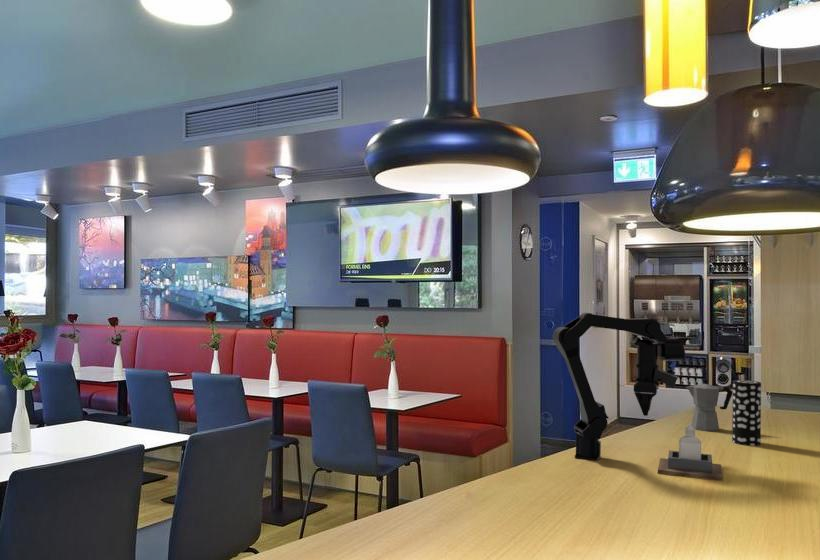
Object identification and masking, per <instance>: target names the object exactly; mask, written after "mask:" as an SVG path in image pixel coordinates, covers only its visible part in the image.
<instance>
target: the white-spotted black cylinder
mask: <svg viewBox="0 0 820 560" xmlns="http://www.w3.org/2000/svg"><path fill="white" fill-rule="evenodd" d="M761 404H762V382H760V381H756V380H748V379H747V380H745V379H744V380H743V379H735V380H732V422H731V423H732V431H731V433H732V435H731V436H732V438H731V439H732V441H731V442H732V443H734V444H737V445H742V446H749V447H750V446H751V447H752V446H754V447H755V446H761V445H762V444H761V443H762V441H761V438H762V437H761V436H762V435H761V432H762V431H761V429H762V428H761V427H762V423H761V421H762V413H761V412H762V405H761Z"/></svg>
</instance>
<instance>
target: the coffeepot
mask: <svg viewBox="0 0 820 560" xmlns="http://www.w3.org/2000/svg"><path fill="white" fill-rule="evenodd" d="M702 381H703V383H700V384H694V385H693V384H692V385H687V386H685V389H687V390H688V392H689V394H690V395H691V397H692V399H693V405H694V407H695V409H694V411H693V415H692V421H691V423H692V427H693V428H694V429H695V431H696V430H697V431H705V432H716V431H719V430H720V426H719V425H720V424H719V420H718V414H717V411H716V407H717V406H718V401H719V395H720V393H723V392H726V393H727V394H725V395H726V396H725V400H724V402H723V406H719V409H720V410H727V408H728V406H729V404H730V402H731V398H732V397H733V390H731V388H730V387H728V386H720V385H718V386H715V385H712V384H709V383H708V382H709V379H708V378H703V380H702Z"/></svg>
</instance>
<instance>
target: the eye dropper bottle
mask: <svg viewBox="0 0 820 560" xmlns="http://www.w3.org/2000/svg"><path fill="white" fill-rule="evenodd" d="M684 431H685V432H684V433H685V434H684V435H683V436H681V437H679V439H678V451H679V458H685V459H695V460H701V454H702V440H701V439H700V438H698V437H696V429H694V428H693V427H692V422H691V423H688V426H687V427H685V430H684Z"/></svg>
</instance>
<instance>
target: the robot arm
mask: <svg viewBox="0 0 820 560" xmlns="http://www.w3.org/2000/svg"><path fill="white" fill-rule="evenodd" d="M591 327H593V328H594V327H595V328H601V329H610V330H617V331H624V332H627V333H630V334H632V335H635V337H634V339H633V340H631V341H630V343H629V344H630V345H633V346H637V347H636V348H637V349H636V351H637V353H636V365H635V366H636V378H635V379H636V380H635V383H634V384H633V392H634V395H635V397H636V400H637V402H638V404H639V408H640V410H641V412H642V415H643V416H646V417H647V416H648V415H649V411H650V409H651V405H652V401H653V398H654V397H655V396H657V393H658V389H659V388H660V383H661V384H664V385H667V386H669V387H671V388H674V387H675V386H676V383H677V381H678V377H679V376H677V375H676V374H675V371H674V370H673V369H671V368H667V370H663V369H661V368H659V367H660V366H659V365H660V364H658V358H659V359H660V360H661V361H662V362H663V361H664V362H666V361H667V362H669V361H671V362H672V361H674V362H677V361H678V362H681V361H683V360H684V358H685V355H686V350H685V347H684V344H683V343H682V338H680V337H672V338H667V336H666V334H664V332H663V330H662V329H661V324H660V323H659V321H658V320H657V319H654V318H649V317H648V318H646V317H640V318H637V317H635V318H622V317H614V316H608V315H607V316H605V315H599V314H593V313H591V312H583V313H581V314H580V315H579V316H577V317H576V318H575V319H573V320H570V321H569V322H568V323H566V324H565V325H564V326H559V327H557V328H555V330H554V331H553V332H552V340H553V343H554V344H555V346H556V348H557V349H558V351H559V353H560V354H561V356H562V357H563V358H564V361H565V364H566V367H567V369H568V373H569V375H570V378H571V380H572V382H573V386H574V389H575V391H576V395H577V397H578V400H579V413H580V420H579V421H577V422H576V423H575V424H574V426H573V429H574V433H575V434H576V435H575V455H574V458H575V459H586V460H592V461H593V460H595V461H598V459H599V458H600V457H601V455H602V441H601V440H600V439H601V437H602V435H603V432H604V431H605V430H606V429H607V427H608V426H609V425H608V423H609V422H608V420H609V419H610V418H609V416H608V415H607V413H606V407H605V404H602V403H600V402H598V401H596V399H595V397H594V393H593V390H592V389H591V386H590V383H589V379H588V377H587V375H586V370H585V369H584V366H583V363H582V362H583V361H582V360H581V357H580V343H579V342H580V341H579V339H580V337H582V336H583V335H584V334H586V333H587V331H588V330H589V329H590V328H591ZM640 337H641V338H640ZM642 338H647V339H642ZM652 341H655V342H652Z"/></svg>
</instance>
